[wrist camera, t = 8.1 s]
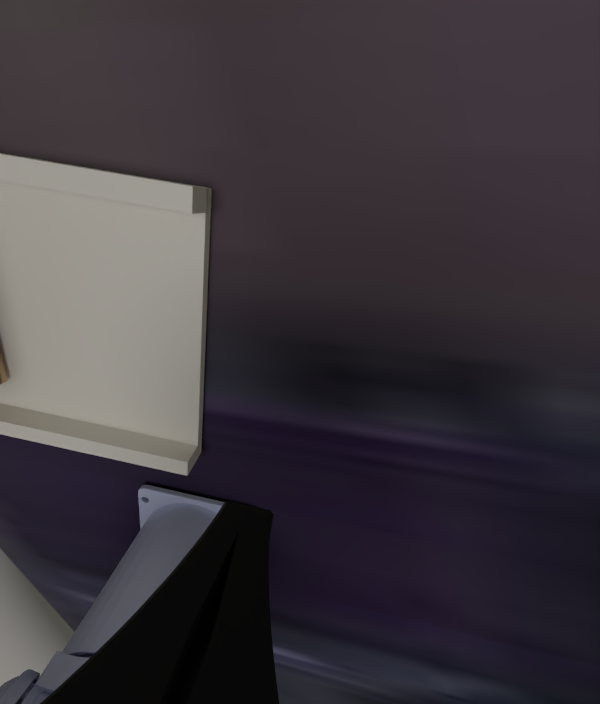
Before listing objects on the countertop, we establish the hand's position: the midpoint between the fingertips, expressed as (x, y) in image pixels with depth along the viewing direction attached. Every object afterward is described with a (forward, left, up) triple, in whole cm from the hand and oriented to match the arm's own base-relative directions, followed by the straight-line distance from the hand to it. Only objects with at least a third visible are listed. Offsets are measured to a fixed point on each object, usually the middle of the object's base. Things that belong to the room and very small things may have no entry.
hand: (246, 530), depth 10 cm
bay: (+1, +15, -9) cm, 18 cm away
